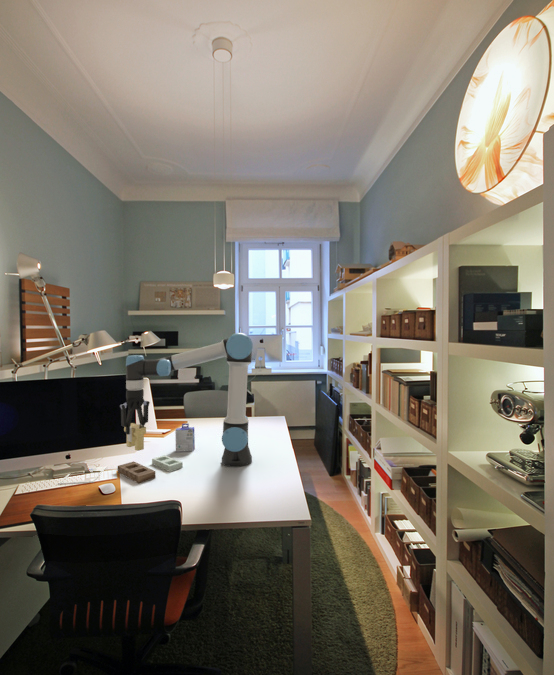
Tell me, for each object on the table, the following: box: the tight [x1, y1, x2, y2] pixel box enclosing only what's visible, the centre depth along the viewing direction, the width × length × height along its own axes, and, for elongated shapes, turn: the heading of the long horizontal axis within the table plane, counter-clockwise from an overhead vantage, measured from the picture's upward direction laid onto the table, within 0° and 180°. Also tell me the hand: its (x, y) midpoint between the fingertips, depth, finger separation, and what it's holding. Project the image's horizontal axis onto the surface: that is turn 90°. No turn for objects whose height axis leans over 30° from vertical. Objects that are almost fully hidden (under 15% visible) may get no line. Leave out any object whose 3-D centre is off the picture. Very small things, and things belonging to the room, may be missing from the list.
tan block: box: [123, 422, 147, 452], centre depth 169 cm, size 12×4×10 cm, turn 48°
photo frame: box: [57, 466, 108, 485], centre depth 170 cm, size 15×1×18 cm
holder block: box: [151, 455, 183, 472], centre depth 181 cm, size 16×7×2 cm, turn 48°
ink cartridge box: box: [174, 423, 196, 453], centre depth 206 cm, size 10×6×14 cm, turn 95°
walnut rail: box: [117, 461, 156, 484], centre depth 170 cm, size 20×8×3 cm, turn 48°
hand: (135, 439), depth 169 cm, fingers closed on tan block, 4 cm apart
